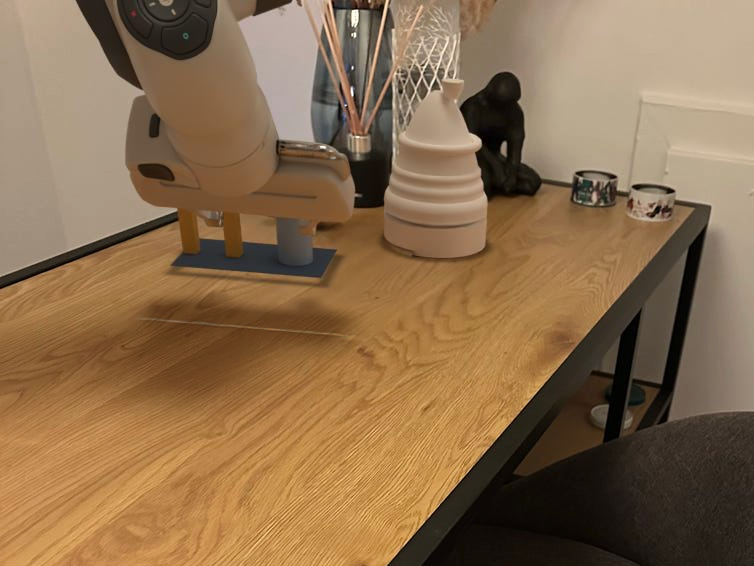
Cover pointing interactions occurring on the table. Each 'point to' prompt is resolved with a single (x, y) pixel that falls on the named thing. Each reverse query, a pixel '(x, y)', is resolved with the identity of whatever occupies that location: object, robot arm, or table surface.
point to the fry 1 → (189, 231)
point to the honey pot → (437, 182)
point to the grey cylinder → (292, 243)
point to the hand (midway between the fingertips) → (262, 224)
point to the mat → (253, 259)
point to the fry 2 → (232, 235)
